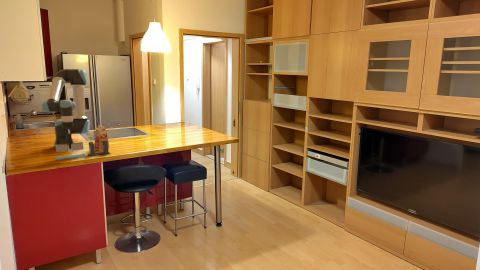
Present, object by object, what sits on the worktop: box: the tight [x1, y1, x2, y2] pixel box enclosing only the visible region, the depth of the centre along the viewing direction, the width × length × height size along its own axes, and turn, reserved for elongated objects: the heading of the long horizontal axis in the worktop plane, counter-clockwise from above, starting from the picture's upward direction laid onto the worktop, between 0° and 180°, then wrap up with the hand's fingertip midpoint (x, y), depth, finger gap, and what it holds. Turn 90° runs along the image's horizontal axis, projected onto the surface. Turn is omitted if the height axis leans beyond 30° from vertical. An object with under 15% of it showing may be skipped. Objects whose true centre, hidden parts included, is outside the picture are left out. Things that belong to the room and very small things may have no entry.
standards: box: [87, 141, 111, 157], centre depth 260 cm, size 7×15×10 cm, turn 122°
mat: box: [55, 153, 87, 161], centre depth 251 cm, size 9×20×1 cm, turn 122°
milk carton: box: [94, 124, 110, 151], centre depth 275 cm, size 9×9×20 cm
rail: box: [55, 141, 84, 153], centre depth 249 cm, size 4×18×5 cm, turn 122°
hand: (70, 152), depth 250 cm, fingers closed on rail, 3 cm apart
